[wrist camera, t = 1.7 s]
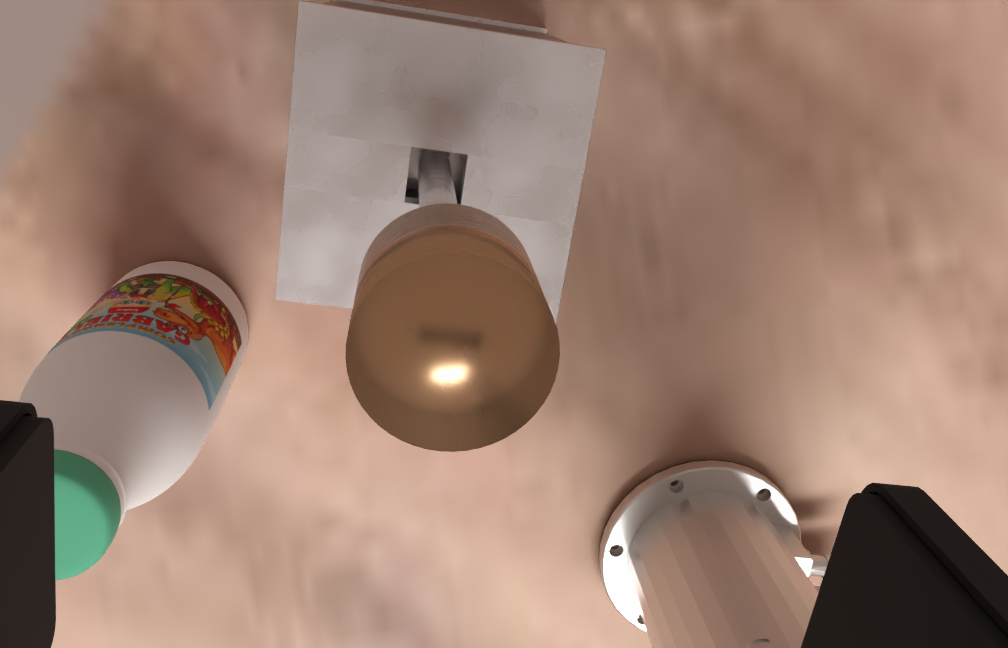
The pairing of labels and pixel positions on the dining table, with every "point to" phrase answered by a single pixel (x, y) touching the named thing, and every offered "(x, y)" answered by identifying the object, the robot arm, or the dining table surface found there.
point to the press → (428, 134)
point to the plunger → (449, 320)
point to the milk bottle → (134, 398)
